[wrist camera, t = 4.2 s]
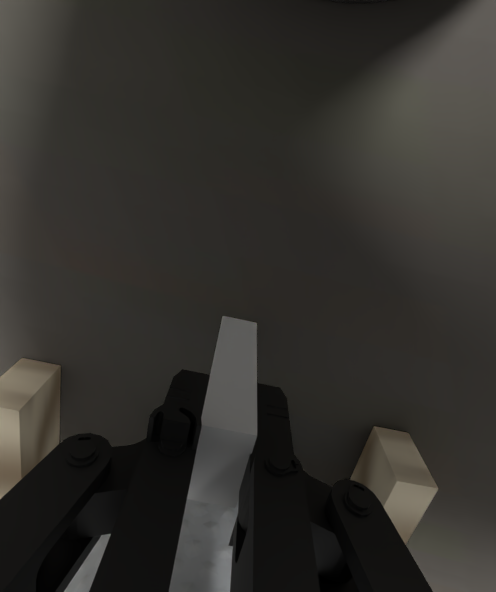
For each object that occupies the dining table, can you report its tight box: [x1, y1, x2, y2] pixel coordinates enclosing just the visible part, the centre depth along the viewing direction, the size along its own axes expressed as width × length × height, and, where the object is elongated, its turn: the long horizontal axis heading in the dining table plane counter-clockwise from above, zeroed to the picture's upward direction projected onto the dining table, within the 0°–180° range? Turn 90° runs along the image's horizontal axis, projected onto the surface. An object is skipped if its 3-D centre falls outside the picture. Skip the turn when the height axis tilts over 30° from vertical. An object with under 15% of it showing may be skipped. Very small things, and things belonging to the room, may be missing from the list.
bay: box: [0, 358, 439, 545], centre depth 21 cm, size 21×21×5 cm
